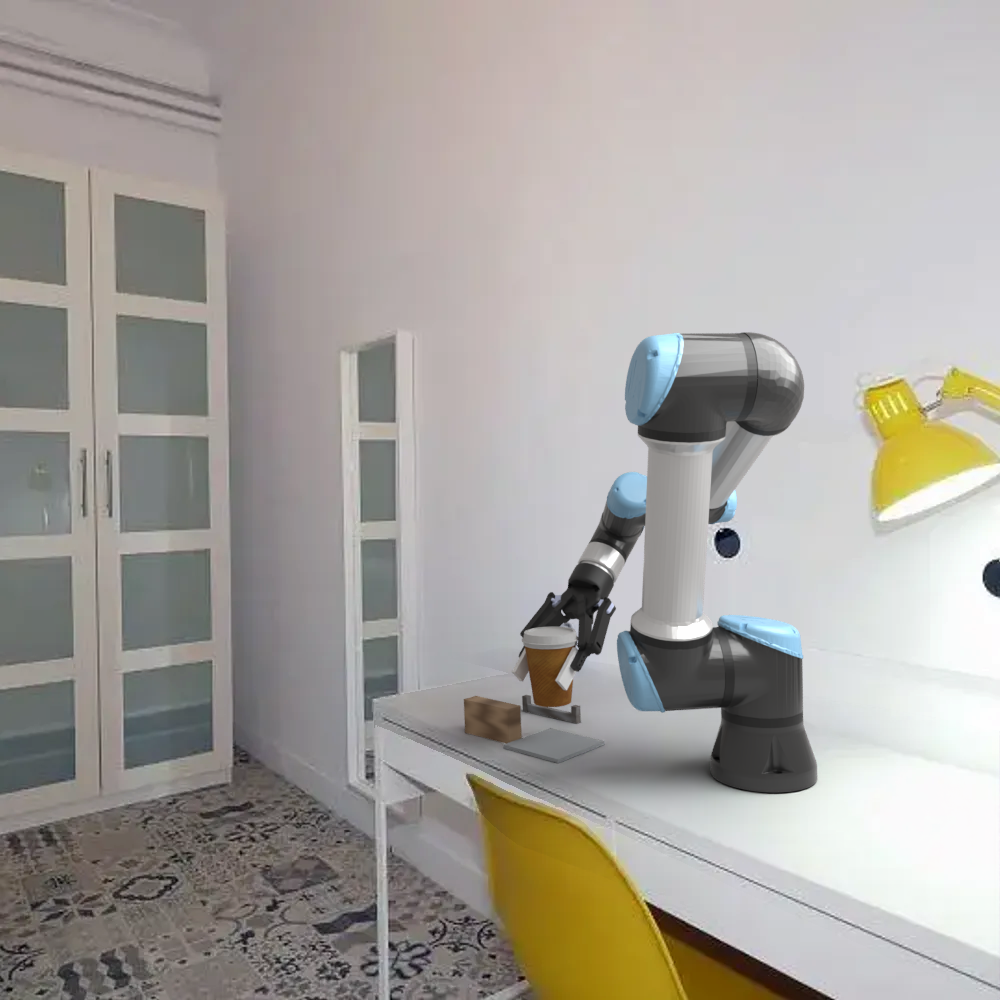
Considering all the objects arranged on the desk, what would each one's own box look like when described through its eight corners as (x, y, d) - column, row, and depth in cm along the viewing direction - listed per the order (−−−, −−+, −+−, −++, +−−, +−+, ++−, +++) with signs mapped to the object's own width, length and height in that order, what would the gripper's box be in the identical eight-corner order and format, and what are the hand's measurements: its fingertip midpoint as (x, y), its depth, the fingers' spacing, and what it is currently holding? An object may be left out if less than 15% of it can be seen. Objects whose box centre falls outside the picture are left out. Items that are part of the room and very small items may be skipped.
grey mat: (604, 744, 144) (604, 740, 144) (558, 763, 136) (557, 759, 136) (550, 731, 153) (550, 727, 153) (503, 748, 144) (503, 744, 144)
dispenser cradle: (580, 722, 158) (579, 689, 158) (514, 746, 145) (513, 710, 145) (526, 710, 167) (525, 679, 167) (460, 731, 155) (459, 698, 154)
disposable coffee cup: (581, 694, 149) (578, 625, 149) (580, 709, 140) (578, 636, 139) (526, 695, 150) (523, 626, 150) (522, 710, 141) (519, 637, 140)
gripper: (656, 591, 148) (601, 704, 137) (559, 582, 163) (503, 683, 152) (637, 564, 144) (579, 677, 133) (539, 557, 159) (480, 659, 148)
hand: (538, 681), depth 142 cm, fingers closed on disposable coffee cup, 9 cm apart
